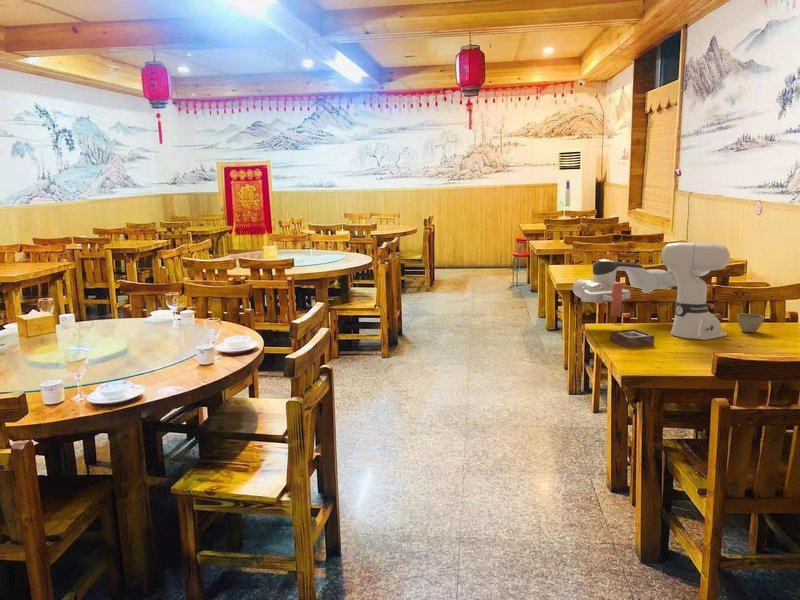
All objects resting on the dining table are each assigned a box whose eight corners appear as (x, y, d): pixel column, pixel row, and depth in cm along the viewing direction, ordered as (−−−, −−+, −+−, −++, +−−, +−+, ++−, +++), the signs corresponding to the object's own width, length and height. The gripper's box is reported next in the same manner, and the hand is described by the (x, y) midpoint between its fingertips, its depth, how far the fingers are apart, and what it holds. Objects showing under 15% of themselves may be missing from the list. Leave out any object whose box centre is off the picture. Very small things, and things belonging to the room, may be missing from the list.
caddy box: (634, 338, 262) (634, 329, 261) (653, 345, 251) (654, 335, 250) (609, 340, 259) (610, 331, 258) (628, 348, 247) (628, 338, 247)
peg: (616, 314, 266) (618, 281, 264) (622, 316, 263) (624, 283, 260) (608, 315, 265) (610, 282, 262) (614, 317, 261) (616, 284, 259)
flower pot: (756, 335, 264) (758, 319, 263) (731, 331, 271) (733, 315, 270) (765, 331, 270) (767, 315, 269) (741, 328, 278) (742, 312, 277)
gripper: (618, 298, 278) (638, 304, 265) (577, 301, 272) (596, 307, 259) (618, 284, 277) (639, 289, 264) (578, 287, 271) (597, 292, 258)
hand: (618, 298), depth 261 cm, fingers closed on peg, 4 cm apart
